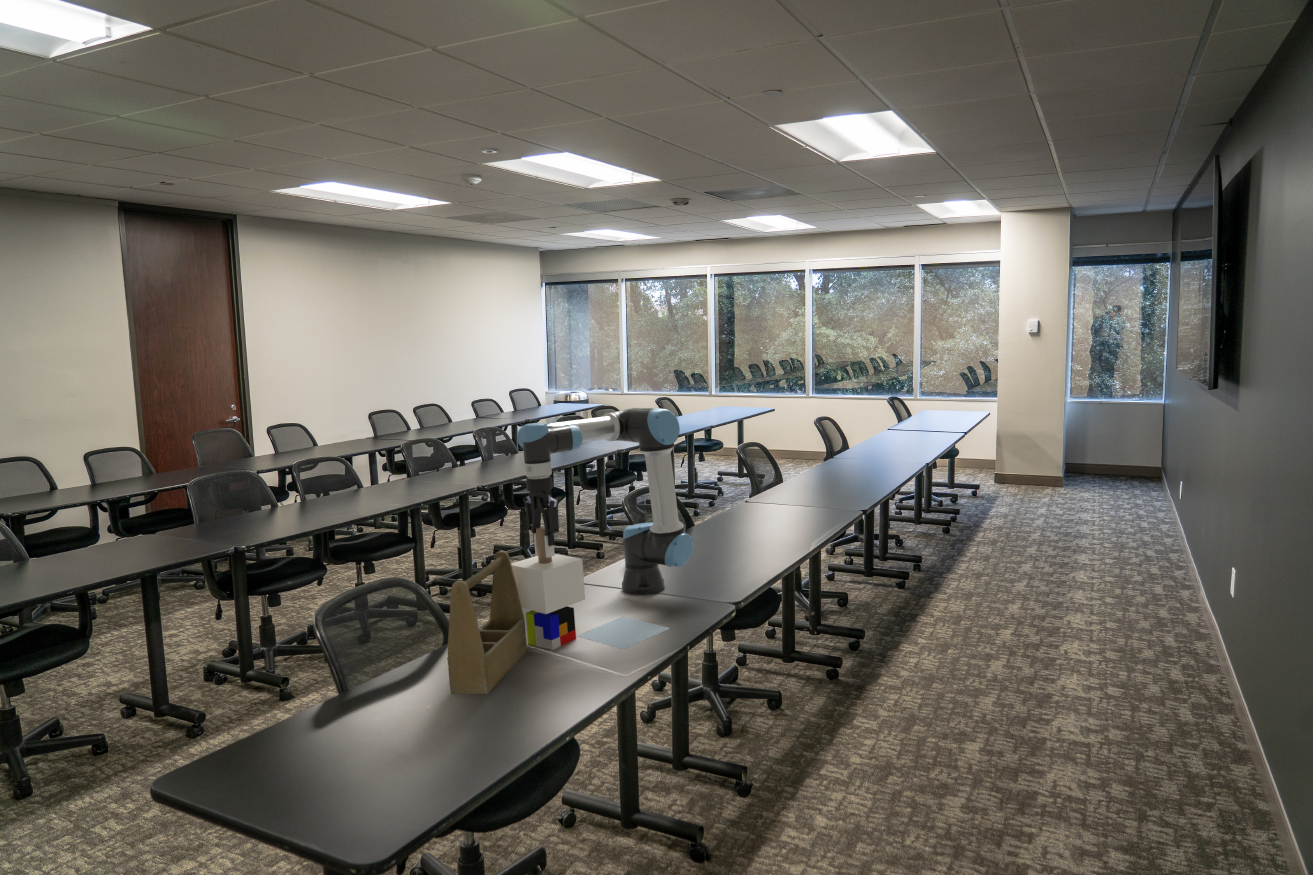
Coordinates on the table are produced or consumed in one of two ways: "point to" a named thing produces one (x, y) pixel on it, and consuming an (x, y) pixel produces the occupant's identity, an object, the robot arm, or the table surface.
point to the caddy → (485, 631)
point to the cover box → (548, 579)
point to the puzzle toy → (551, 628)
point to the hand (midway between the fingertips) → (545, 555)
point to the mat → (623, 632)
